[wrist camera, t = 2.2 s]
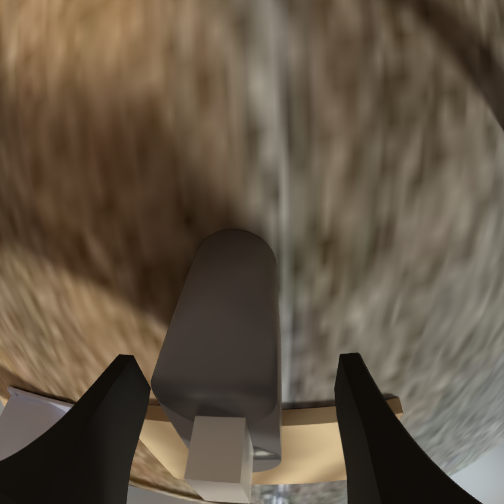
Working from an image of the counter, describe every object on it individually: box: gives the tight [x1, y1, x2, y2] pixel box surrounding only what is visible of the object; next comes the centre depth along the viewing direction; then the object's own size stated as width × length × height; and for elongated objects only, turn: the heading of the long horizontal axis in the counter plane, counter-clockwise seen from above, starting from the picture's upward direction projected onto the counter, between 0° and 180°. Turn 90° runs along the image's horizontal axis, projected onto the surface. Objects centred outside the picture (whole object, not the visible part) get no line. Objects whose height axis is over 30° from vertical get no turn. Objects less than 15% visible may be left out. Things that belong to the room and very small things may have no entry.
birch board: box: [139, 398, 403, 484], centre depth 21 cm, size 18×13×1 cm
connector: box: [151, 230, 282, 503], centre depth 10 cm, size 3×8×8 cm, turn 6°
